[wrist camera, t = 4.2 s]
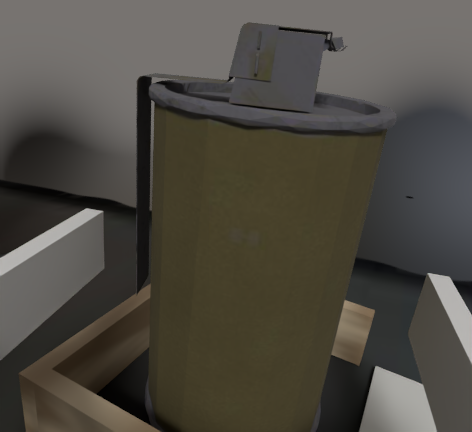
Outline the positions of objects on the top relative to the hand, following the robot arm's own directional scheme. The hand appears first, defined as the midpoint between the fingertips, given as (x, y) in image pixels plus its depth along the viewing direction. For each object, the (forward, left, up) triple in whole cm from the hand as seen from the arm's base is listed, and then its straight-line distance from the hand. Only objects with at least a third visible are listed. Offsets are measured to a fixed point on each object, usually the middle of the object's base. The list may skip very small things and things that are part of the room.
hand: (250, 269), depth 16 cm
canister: (-2, +4, -11) cm, 12 cm away
